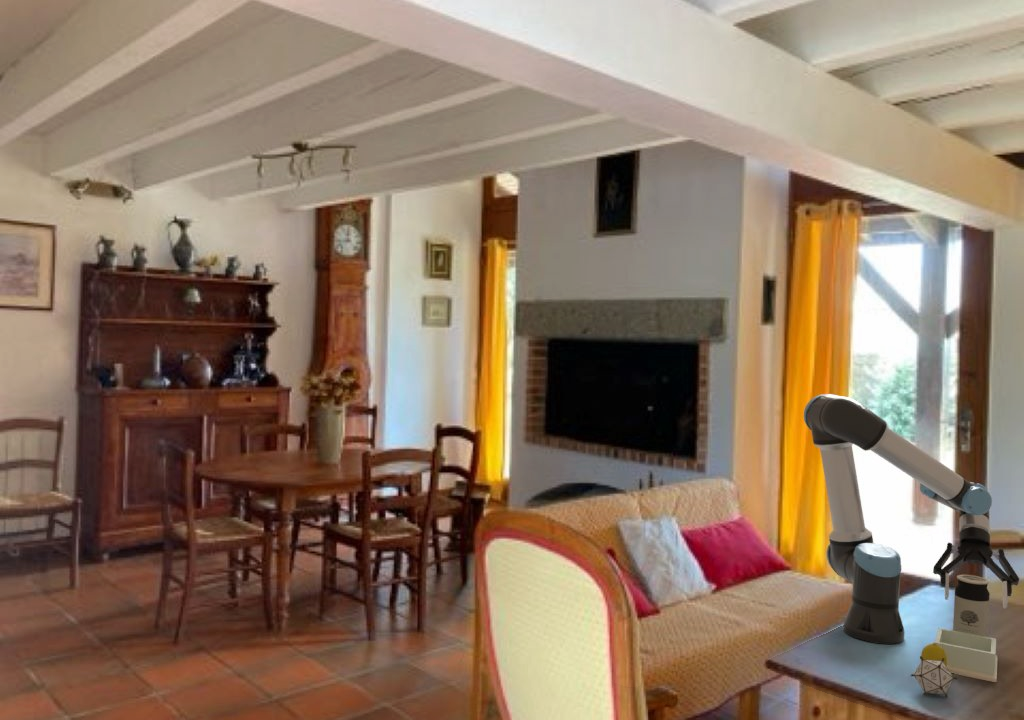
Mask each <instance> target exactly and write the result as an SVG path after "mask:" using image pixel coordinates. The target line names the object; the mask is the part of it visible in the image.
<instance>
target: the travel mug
mask: <svg viewBox="0 0 1024 720" xmlns="http://www.w3.org/2000/svg"><path fill="white" fill-rule="evenodd" d="M956 579H957V584H956V586H955V588H954V601H953V602H954V603H953V606H954V607H953V620H952V623H953V624H952V630H953V631H958V632H964V633H969V634H974V635H980V636H985V637H988V631H989V630H988V627H989V612H990V611H989V609H990V596H991V595H990V591H989V589H988V585H989V584H990V581H989V579H987V578H985V577H982V576H977V575H974V574H973V575H972V574H958V575H957V576H956Z"/></svg>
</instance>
